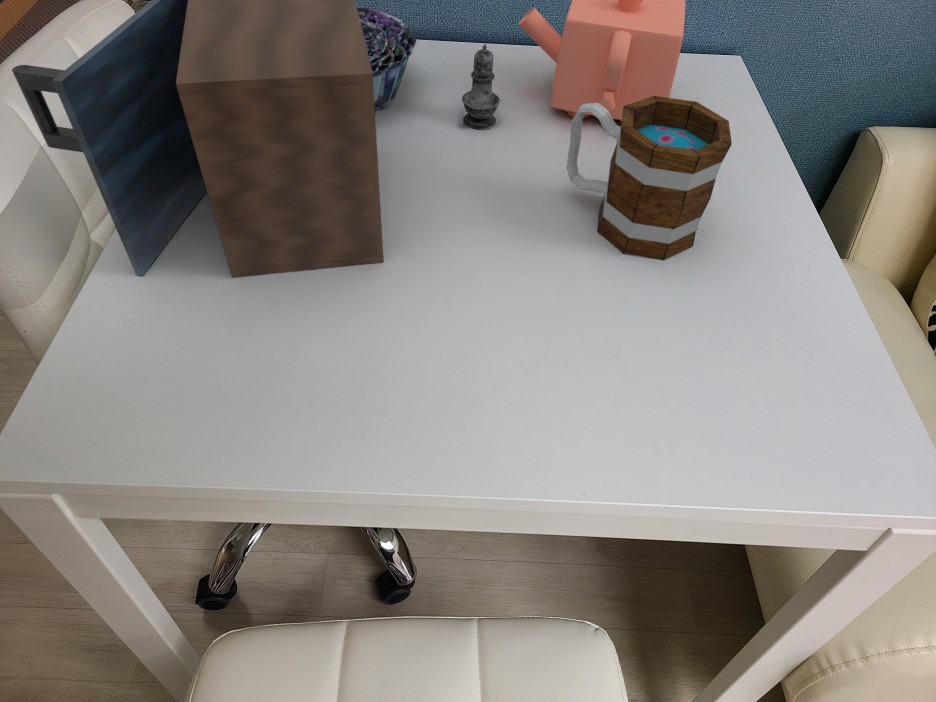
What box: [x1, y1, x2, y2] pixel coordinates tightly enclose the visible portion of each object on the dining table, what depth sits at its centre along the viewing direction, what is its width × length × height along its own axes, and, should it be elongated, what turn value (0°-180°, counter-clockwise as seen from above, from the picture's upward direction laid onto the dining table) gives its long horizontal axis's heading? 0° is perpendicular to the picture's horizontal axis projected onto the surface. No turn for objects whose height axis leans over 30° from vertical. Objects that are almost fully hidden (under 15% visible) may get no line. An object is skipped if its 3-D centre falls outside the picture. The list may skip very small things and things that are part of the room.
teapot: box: [518, 0, 686, 123], centre depth 105 cm, size 25×23×18 cm
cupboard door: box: [11, 0, 207, 277], centre depth 79 cm, size 7×26×24 cm, turn 170°
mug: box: [566, 96, 733, 261], centre depth 85 cm, size 20×14×15 cm
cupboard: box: [176, 0, 385, 278], centre depth 80 cm, size 18×26×24 cm
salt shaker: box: [461, 43, 501, 131], centre depth 101 cm, size 6×6×12 cm
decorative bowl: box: [357, 7, 417, 111], centre depth 106 cm, size 26×28×10 cm
